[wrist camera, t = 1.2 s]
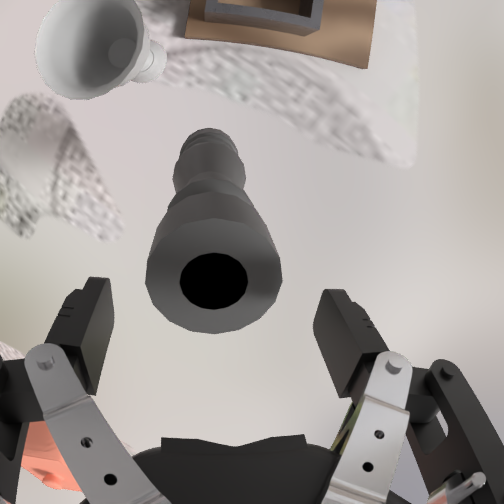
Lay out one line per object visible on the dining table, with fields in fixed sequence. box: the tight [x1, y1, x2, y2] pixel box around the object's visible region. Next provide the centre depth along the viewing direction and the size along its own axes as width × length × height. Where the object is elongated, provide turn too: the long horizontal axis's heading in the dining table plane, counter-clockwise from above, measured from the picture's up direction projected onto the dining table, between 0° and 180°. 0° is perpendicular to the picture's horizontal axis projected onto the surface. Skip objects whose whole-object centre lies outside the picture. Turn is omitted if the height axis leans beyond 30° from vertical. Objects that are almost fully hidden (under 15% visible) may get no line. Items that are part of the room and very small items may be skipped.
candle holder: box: [145, 128, 282, 334], centre depth 24 cm, size 6×6×25 cm
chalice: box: [35, 0, 167, 100], centre depth 21 cm, size 7×7×18 cm
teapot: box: [21, 421, 82, 492], centre depth 49 cm, size 25×23×18 cm
